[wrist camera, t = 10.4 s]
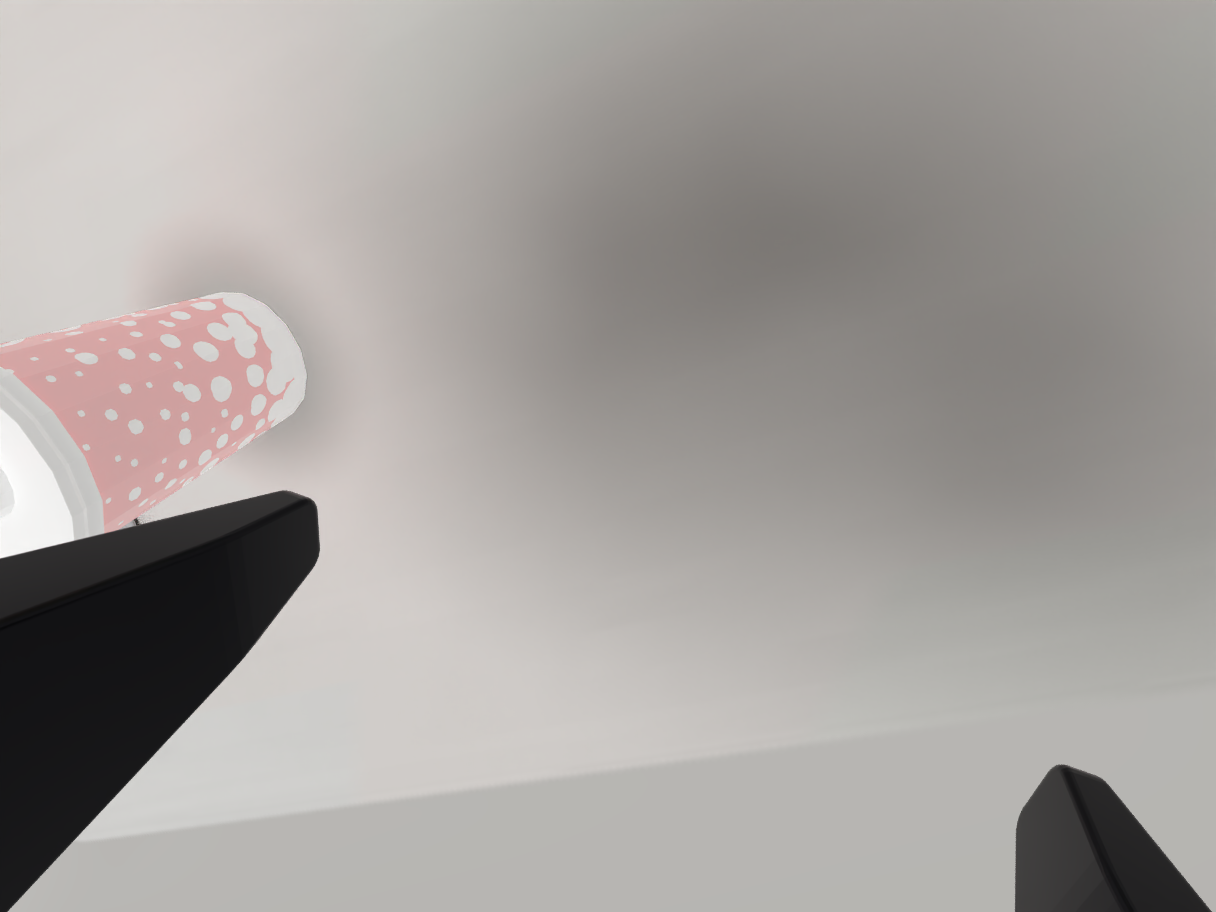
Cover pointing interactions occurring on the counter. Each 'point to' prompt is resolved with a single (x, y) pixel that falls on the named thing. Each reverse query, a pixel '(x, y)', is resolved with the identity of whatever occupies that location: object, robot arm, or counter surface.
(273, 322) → the beverage cup
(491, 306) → the counter surface
